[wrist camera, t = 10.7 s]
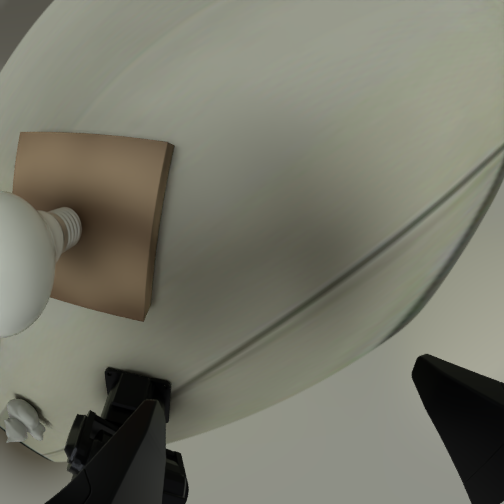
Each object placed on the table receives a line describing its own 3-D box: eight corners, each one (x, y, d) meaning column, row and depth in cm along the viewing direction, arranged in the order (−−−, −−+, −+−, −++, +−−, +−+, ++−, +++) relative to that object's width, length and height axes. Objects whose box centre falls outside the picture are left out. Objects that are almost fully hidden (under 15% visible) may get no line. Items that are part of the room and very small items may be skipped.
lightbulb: (24, 221, 14) (-86, 275, 4) (72, 157, 14) (-62, 165, 3) (74, 287, 16) (-14, 386, 6) (129, 230, 16) (23, 320, 5)
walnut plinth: (150, 305, 20) (143, 321, 18) (30, 274, 18) (15, 285, 16) (174, 145, 17) (167, 142, 15) (38, 133, 15) (20, 132, 12)
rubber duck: (19, 387, 22) (-6, 427, 14) (56, 419, 24) (37, 462, 16) (10, 397, 22) (-11, 433, 15) (44, 427, 24) (27, 465, 17)
